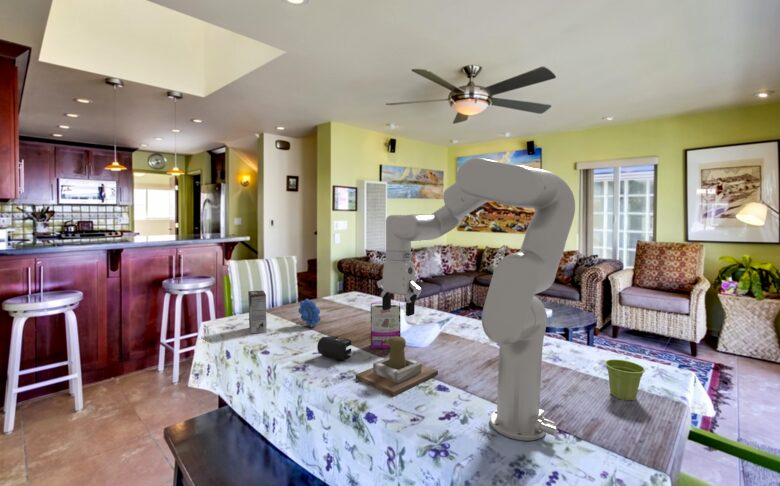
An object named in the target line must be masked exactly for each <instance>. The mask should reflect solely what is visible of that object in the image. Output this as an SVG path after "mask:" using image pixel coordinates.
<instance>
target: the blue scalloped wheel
mask: <svg viewBox="0 0 780 486" xmlns="http://www.w3.org/2000/svg"><path fill="white" fill-rule="evenodd" d="M299 306H300V307H299V308H298V309H297V310H298V313H299V314H300V320H302V322H305V324H306V325H307V327H310V326H312V327H317V325H318V322H321V319H322V318H321V316H320V314H321V310H320V308H318V307H317V303H316V302H315V301H313V300H312V301H310V299H309V298H305V299H304V300H301V301H300V302H299Z"/></svg>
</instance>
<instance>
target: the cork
mask: <svg viewBox="0 0 780 486" xmlns="http://www.w3.org/2000/svg"><path fill="white" fill-rule="evenodd" d="M406 344H407V342H406V339H405V337H402V336H400V337H399V336H396V337H392V338H390V340H389V347H390V348H391V349H389V350H390V351H389V364H388V366H389V367H391V368H394V369H396V370H400V369H402V368H404V367H406V361H405V357H406V356H405V355H406V353H405V347H406Z"/></svg>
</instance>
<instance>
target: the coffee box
mask: <svg viewBox="0 0 780 486" xmlns="http://www.w3.org/2000/svg"><path fill="white" fill-rule="evenodd" d="M248 322H249V324H248V325H249V331H250V334H258V333H259V334H260V333H266V332H267V294H266V293H265V291H264V290H251V291H250V290H249V291H248Z"/></svg>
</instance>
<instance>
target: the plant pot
mask: <svg viewBox="0 0 780 486" xmlns="http://www.w3.org/2000/svg"><path fill="white" fill-rule="evenodd" d="M604 364H605V366H606V370H607V373H608V381H609V382H608V383H609V391H610V393H609V394H611V395H612V396H613V397H614V398H616V399H617V400H618V399H619V400H622V401H635V400H636V399H637V394H638V390H639V387H640V383H641V378H642V377H643V374H644V373H645V372H646V368H645V367H644V366H642V365H640V364H638V363H636V362H633V361H628V360H624V359H607V360H605V362H604Z"/></svg>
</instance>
